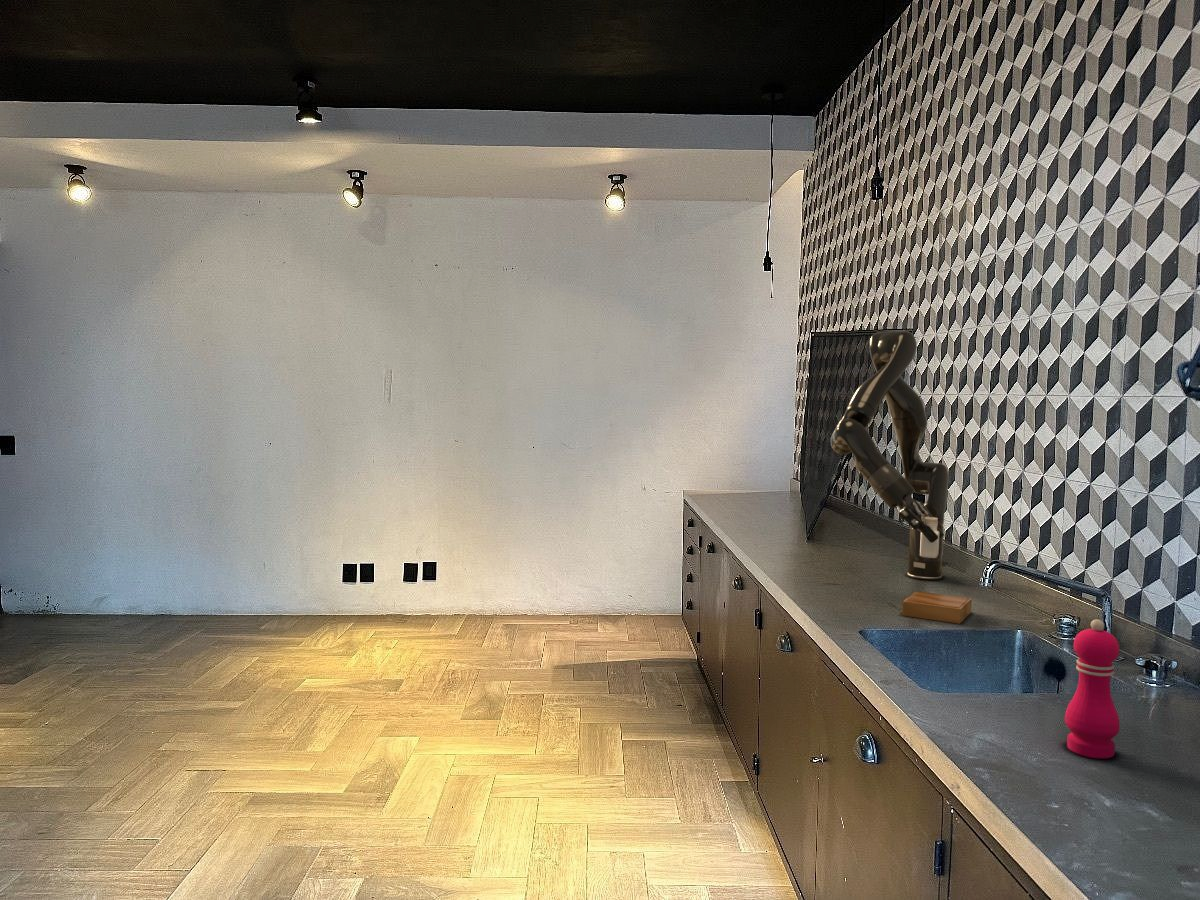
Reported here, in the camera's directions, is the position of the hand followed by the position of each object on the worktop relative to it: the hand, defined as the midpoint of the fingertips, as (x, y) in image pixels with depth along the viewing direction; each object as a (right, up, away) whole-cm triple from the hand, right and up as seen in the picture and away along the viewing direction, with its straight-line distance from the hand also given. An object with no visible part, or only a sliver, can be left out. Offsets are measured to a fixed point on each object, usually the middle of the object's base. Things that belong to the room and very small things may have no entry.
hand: (938, 538), depth 220 cm
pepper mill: (-8, -24, -84) cm, 87 cm away
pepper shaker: (-2, -5, +1) cm, 5 cm away
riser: (-1, -18, -1) cm, 18 cm away
